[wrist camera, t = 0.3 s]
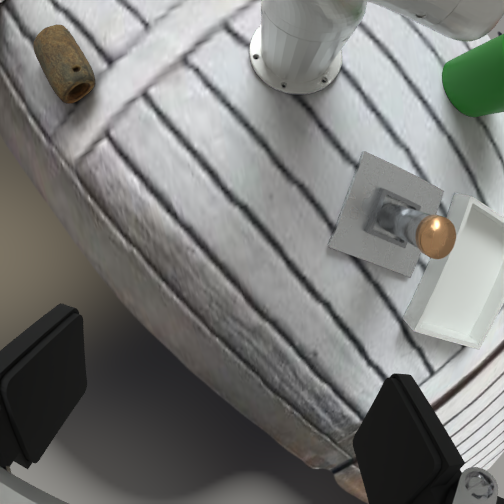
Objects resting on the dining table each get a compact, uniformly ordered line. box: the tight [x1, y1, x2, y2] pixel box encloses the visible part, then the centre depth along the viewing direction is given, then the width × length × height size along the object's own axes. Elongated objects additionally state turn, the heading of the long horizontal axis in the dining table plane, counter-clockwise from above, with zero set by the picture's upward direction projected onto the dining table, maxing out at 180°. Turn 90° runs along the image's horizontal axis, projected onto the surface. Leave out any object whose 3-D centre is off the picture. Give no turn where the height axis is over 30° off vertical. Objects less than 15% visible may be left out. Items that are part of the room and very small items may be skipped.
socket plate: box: [328, 151, 444, 278], centre depth 41 cm, size 14×14×2 cm
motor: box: [442, 34, 504, 117], centre depth 27 cm, size 10×9×20 cm
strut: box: [378, 203, 456, 259], centre depth 35 cm, size 4×4×14 cm
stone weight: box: [34, 25, 95, 103], centre depth 34 cm, size 15×7×7 cm, turn 38°
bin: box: [403, 193, 504, 349], centre depth 42 cm, size 22×17×4 cm
